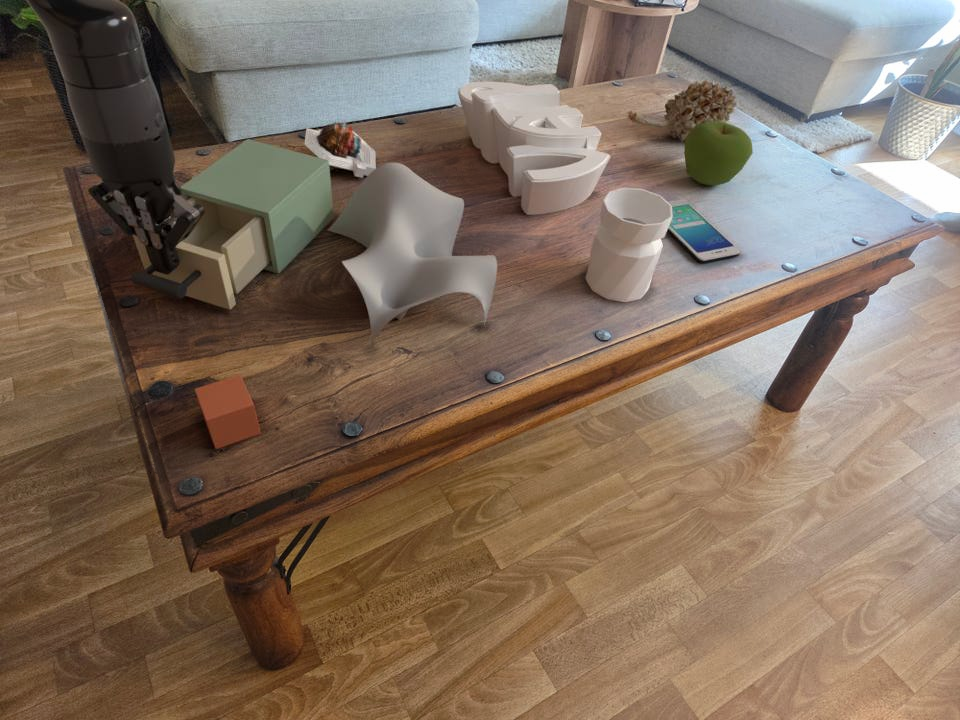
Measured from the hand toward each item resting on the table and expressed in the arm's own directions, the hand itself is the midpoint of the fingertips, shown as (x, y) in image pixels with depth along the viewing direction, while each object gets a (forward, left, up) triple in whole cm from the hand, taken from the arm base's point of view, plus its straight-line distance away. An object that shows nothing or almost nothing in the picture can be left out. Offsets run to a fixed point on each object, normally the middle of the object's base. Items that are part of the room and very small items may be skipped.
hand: (167, 269), depth 74 cm
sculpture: (+27, +9, -6) cm, 29 cm away
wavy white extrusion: (+45, +38, -6) cm, 59 cm away
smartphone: (+69, +22, -6) cm, 73 cm away
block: (+10, -17, -6) cm, 21 cm away
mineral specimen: (+15, +37, -6) cm, 40 cm away
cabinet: (+7, +17, -6) cm, 19 cm away
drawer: (+3, +6, -5) cm, 8 cm away
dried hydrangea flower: (+74, +53, -6) cm, 91 cm away
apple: (+76, +38, -6) cm, 85 cm away
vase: (+55, +9, -6) cm, 56 cm away
